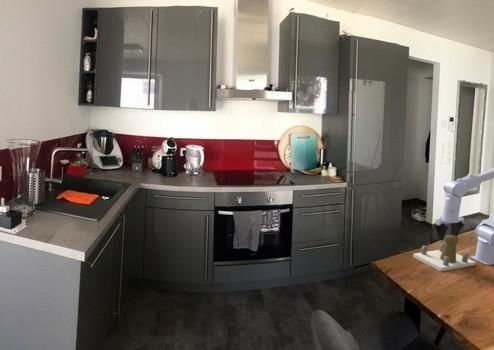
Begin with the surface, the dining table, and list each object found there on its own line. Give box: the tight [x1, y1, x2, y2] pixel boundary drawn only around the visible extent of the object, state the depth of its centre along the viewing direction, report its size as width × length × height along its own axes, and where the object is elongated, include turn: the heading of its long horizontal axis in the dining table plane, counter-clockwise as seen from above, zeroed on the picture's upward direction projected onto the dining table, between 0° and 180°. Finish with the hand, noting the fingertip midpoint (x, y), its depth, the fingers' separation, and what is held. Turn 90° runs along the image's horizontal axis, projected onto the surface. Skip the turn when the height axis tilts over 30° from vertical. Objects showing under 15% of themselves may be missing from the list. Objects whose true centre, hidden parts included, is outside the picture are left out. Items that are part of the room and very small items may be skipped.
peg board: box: [412, 242, 476, 272], centre depth 144 cm, size 20×14×5 cm
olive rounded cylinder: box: [440, 234, 459, 263], centre depth 142 cm, size 6×6×11 cm
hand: (446, 239), depth 143 cm, fingers open, 7 cm apart
